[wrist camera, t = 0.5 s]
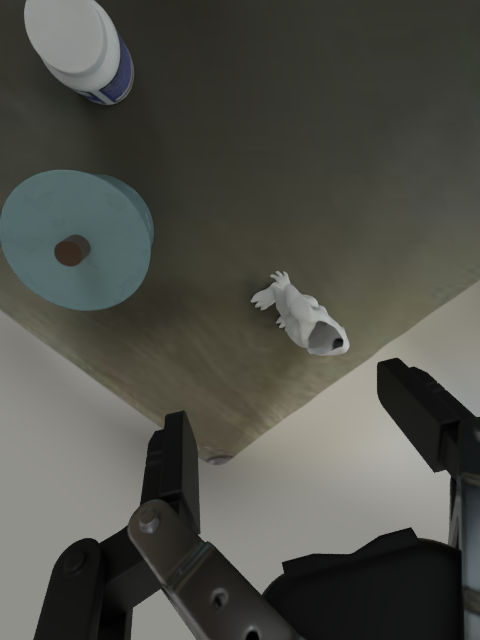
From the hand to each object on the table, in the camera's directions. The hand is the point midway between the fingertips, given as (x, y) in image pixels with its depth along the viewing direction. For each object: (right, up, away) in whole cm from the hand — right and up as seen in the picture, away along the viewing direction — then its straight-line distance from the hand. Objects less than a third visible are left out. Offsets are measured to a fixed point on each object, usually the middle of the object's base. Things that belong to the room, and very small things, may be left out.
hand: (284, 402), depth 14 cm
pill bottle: (-14, +26, +16) cm, 34 cm away
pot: (-16, +13, +22) cm, 30 cm away
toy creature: (+4, +6, +29) cm, 30 cm away
